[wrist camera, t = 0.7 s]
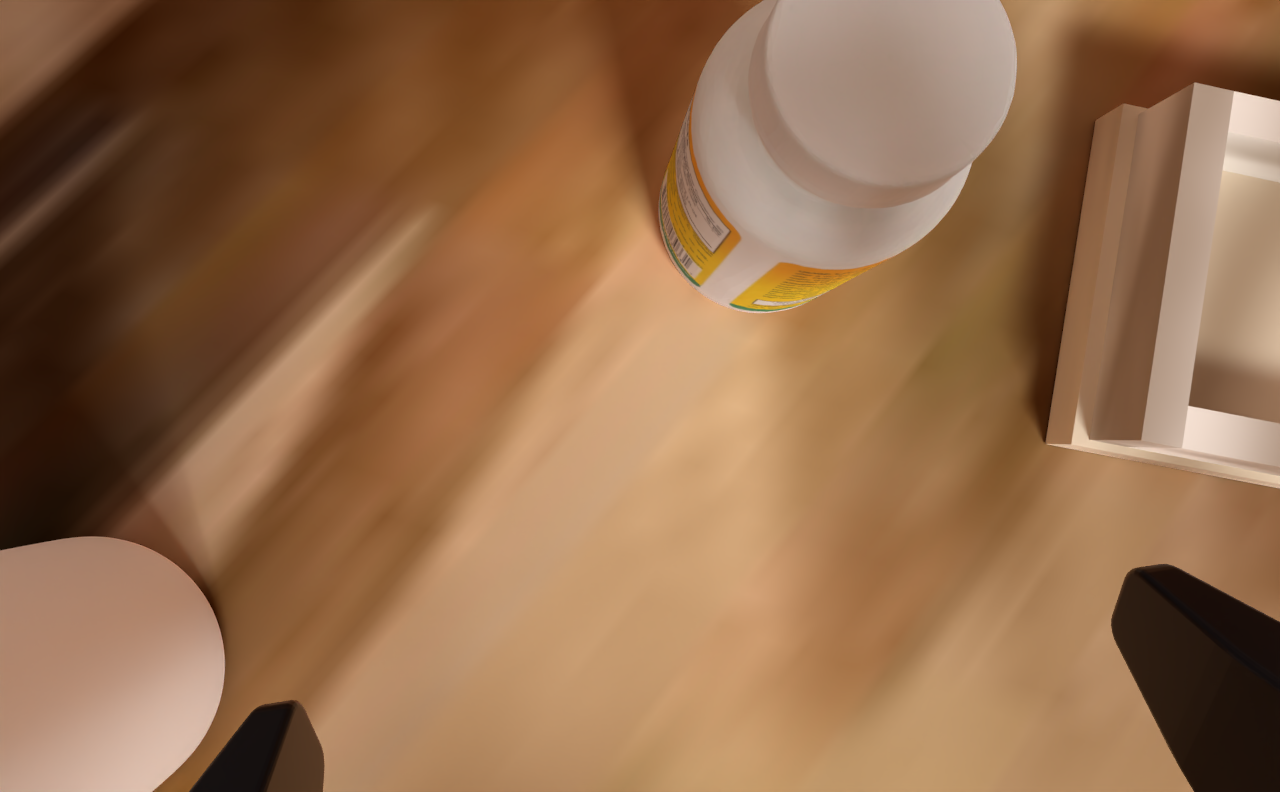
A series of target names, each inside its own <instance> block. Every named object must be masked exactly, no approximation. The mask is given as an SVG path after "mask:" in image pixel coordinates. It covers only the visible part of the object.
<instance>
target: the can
mask: <svg viewBox="0 0 1280 792" xmlns="http://www.w3.org/2000/svg"><path fill="white" fill-rule="evenodd" d="M224 675H225V656H224V646H223V640H222V636H221V632H220V628H219V625H218V622H217V619H216V617H215V614H214V612H213V610H212V608H211V606H210V604H209V602H208V601H207V599H206V597H205V596H204V594H203V593H202V591H201V590H200V589H199V587H198V586H197V585H196V583H195V582H194V581H193V580H192V579H191V578H190V577H189V576H188V575H187V574H186V573H185V572H184V571H183V570H182V569H181V568H179V567H178V566H177V565H176V564H174V563H173V562H172V561H170V560H169V559H167V558H166V557H164V556H163V555H161V554H159V553H157V552H155V551H153V550H151V549H149V548H147V547H144V546H142V545H139V544H136V543H133V542H130V541H126V540H121V539H116V538H110V537H95V536H89V537H74V538H66V539H59V540H53V541H48V542H42V543H37V544H32V545H26V546H21V547H16V548H11V549H5V550H0V792H152V791H153V790H154V789H156V788H157V787H158V786H159V785H160V784H161V783H163V782H164V781H165V780H166V779H167V778H168V777H169V776H170V775H172V774H173V773H174V772H175V771H176V770H177V769H178V768H179V767H180V766H181V765H182V764H183V763H184V762H185V761H186V760H187V759H188V758H189V756H190V755H191V754H192V753H193V752H194V750H195V749H196V748H197V747H198V745H199V744H200V742H201V741H202V739H203V738H204V736H205V735H206V733H207V731H208V729H209V727H210V725H211V723H212V721H213V719H214V717H215V714H216V711H217V709H218V706H219V702H220V699H221V695H222V690H223V684H224Z"/></svg>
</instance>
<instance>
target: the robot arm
mask: <svg viewBox="0 0 1280 792" xmlns="http://www.w3.org/2000/svg"><path fill="white" fill-rule="evenodd" d="M1111 627H1112V633H1113V636H1114V639H1115V642H1116V644H1117V646H1118V648H1119V650H1120V652H1121V654H1122V656H1123V658H1124V660H1125V662H1126V664H1127V666H1128V668H1129V670H1130V672H1131V674H1132V676H1133V677H1134V679H1135V681H1136V683H1137V685H1138V687H1139V689H1140V691H1141V693H1142V695H1143V697H1144V699H1145V701H1146V703H1147V705H1148V707H1149V709H1150V711H1151V713H1152V715H1153V717H1154V719H1155V721H1156V723H1157V725H1158V727H1159V729H1160V731H1161V733H1162V735H1163V737H1164V739H1165V741H1166V743H1167V745H1168V747H1169V749H1170V751H1171V752H1172V754H1173V756H1174V758H1175V760H1176V762H1177V763H1178V765H1179V767H1180V769H1181V771H1182V772H1183V774H1184V776H1185V777H1186V779H1187V781H1188V782H1189V784H1190V786H1191V787H1192V789H1193V791H1194V792H1280V622H1279V621H1277V620H1275V619H1273V618H1271V617H1269V616H1268V615H1266V614H1264V613H1262V612H1260V611H1258V610H1256V609H1254V608H1253V607H1251V606H1249V605H1247V604H1245V603H1243V602H1241V601H1239V600H1237V599H1236V598H1234V597H1232V596H1230V595H1228V594H1226V593H1224V592H1222V591H1221V590H1219V589H1217V588H1215V587H1213V586H1211V585H1209V584H1207V583H1205V582H1204V581H1202V580H1200V579H1198V578H1196V577H1194V576H1192V575H1190V574H1189V573H1187V572H1185V571H1183V570H1181V569H1179V568H1177V567H1175V566H1172V565H1168V564H1158V565H1151V566H1145V567H1139V568H1134V569H1132V570H1131V571H1130V572H1128V573H1127V575H1126V577H1125V579H1124V582H1123V585H1122V588H1121V591H1120V594H1119V597H1118V600H1117V603H1116V606H1115V609H1114V612H1113V615H1112V619H1111ZM323 782H324V755H323V750H322V747H321V744H320V742H319V740H318V737H317V735H316V733H315V731H314V729H313V727H312V724H311V722H310V720H309V718H308V716H307V713H306V711H305V709H304V707H303V706H302V704H301V703H299V702H298V701H296V700H290V701H283V702H277V703H271V704H265V705H261V706H259V707H257V708H256V709H255V710H253V711H252V712H251V714H250V715H249V716H248V717H247V718H246V720H245V721H244V722H243V724H242V725H241V726H240V727H239V729H238V730H237V731H236V732H235V734H234V735H233V736H232V738H231V739H230V740H229V741H228V743H227V744H226V745H225V747H224V748H223V749H222V750H221V752H220V753H219V754H218V755H217V757H216V758H215V759H214V761H213V762H212V763H211V764H210V766H209V767H208V768H207V769H206V771H205V772H204V773H203V775H202V776H201V777H200V778H199V780H198V781H197V782H196V784H195V785H194V786H193V787H192V789H191V790H190V791H189V792H323Z"/></svg>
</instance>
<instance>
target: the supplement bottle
mask: <svg viewBox="0 0 1280 792" xmlns="http://www.w3.org/2000/svg"><path fill="white" fill-rule="evenodd" d="M1016 71H1017V53H1016V45H1015V39H1014V36H1013V32H1012V28H1011V25H1010V22H1009V19H1008V16H1007V14H1006V12H1005V10H1004V8H1003V6H1002V4H1001V2H1000V0H763V1H762V2H760V3H759V4H757V5H755V6H754V7H753V8H751V9H750V10H749V11H747V12H746V13H745V14H744V15H742V16H741V17H740V18H739V19H738V20H737V21H736V22H735V23H734V24H733V25H732V26H731V27H730V28H729V29H728V30H727V32H726V33H725V34H724V35H723V36H722V38H721V39H720V40H719V42H718V43H717V44H716V46H715V48H714V49H713V51H712V53H711V55H710V56H709V58H708V60H707V62H706V64H705V66H704V68H703V71H702V73H701V76H700V78H699V81H698V83H697V86H696V89H695V91H694V94H693V97H692V99H691V102H690V105H689V108H688V111H687V113H686V116H685V119H684V122H683V125H682V127H681V130H680V133H679V136H678V138H677V141H676V144H675V147H674V149H673V152H672V155H671V158H670V161H669V163H668V166H667V169H666V172H665V175H664V178H663V182H662V186H661V190H660V197H659V223H660V230H661V234H662V238H663V241H664V244H665V248H666V250H667V252H668V254H669V256H670V258H671V260H672V262H673V264H674V265H675V267H676V268H677V270H678V271H679V273H680V274H681V275H682V276H683V277H684V279H685V280H686V281H687V282H688V283H689V284H690V285H691V286H692V287H694V288H695V289H696V290H697V291H698V292H700V293H701V294H702V295H704V296H705V297H707V298H708V299H710V300H712V301H714V302H716V303H718V304H719V305H722V306H725V307H728V308H731V309H734V310H737V311H742V312H749V313H770V312H778V311H783V310H788V309H791V308H794V307H798V306H800V305H803V304H805V303H807V302H809V301H811V300H813V299H815V298H817V297H818V296H820V295H822V294H824V293H826V292H828V291H830V290H832V289H834V288H835V287H837V286H839V285H841V284H843V283H844V282H846V281H848V280H850V279H852V278H854V277H856V276H858V275H860V274H861V273H863V272H865V271H867V270H869V269H871V268H873V267H875V266H877V265H879V264H880V263H882V262H884V261H886V260H888V259H890V258H892V257H894V256H895V255H897V254H899V253H900V252H902V251H904V250H906V249H907V248H909V247H911V246H912V245H913V244H915V243H916V242H918V241H919V240H920V239H922V238H923V237H924V236H925V235H926V234H928V233H929V232H930V231H931V230H932V229H933V228H934V227H935V226H936V225H937V224H938V223H939V222H940V221H941V219H942V218H943V217H944V216H945V215H946V214H947V213H948V211H949V210H950V208H951V207H952V205H953V204H954V202H955V201H956V199H957V197H958V195H959V193H960V191H961V190H962V188H963V186H964V184H965V181H966V179H967V176H968V174H969V171H970V168H971V165H972V162H973V161H974V160H975V159H976V158H977V157H978V156H979V155H980V154H981V153H982V152H983V150H984V149H985V148H986V147H987V146H988V145H989V144H990V142H991V141H992V140H993V138H994V137H995V135H996V134H997V132H998V131H999V129H1000V127H1001V126H1002V124H1003V122H1004V120H1005V118H1006V116H1007V113H1008V110H1009V107H1010V104H1011V101H1012V99H1013V96H1014V89H1015V81H1016Z"/></svg>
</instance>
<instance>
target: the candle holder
mask: <svg viewBox="0 0 1280 792" xmlns="http://www.w3.org/2000/svg"><path fill="white" fill-rule="evenodd" d="M1045 444H1048V445H1054V446H1059V447H1064V448H1070V449H1075V450H1080V451H1085V452H1091V453H1096V454H1101V455H1106V456H1112V457H1117V458H1122V459H1128V460H1133V461H1138V462H1143V463H1149V464H1154V465H1159V466H1164V467H1170V468H1175V469H1180V470H1186V471H1191V472H1196V473H1201V474H1207V475H1212V476H1217V477H1223V478H1228V479H1233V480H1238V481H1244V482H1249V483H1254V484H1259V485H1265V486H1270V487H1275V488H1280V101H1277V100H1272V99H1268V98H1263V97H1259V96H1254V95H1250V94H1245V93H1240V92H1236V91H1231V90H1227V89H1222V88H1218V87H1213V86H1209V85H1204V84H1200V83H1195V82H1194V83H1192V84H1191V85H1189V86H1187V87H1185V88H1184V89H1182V90H1180V91H1178V92H1177V93H1175V94H1173V95H1172V96H1170V97H1168V98H1166V99H1165V100H1163V101H1161V102H1159V103H1158V104H1156V105H1154V106H1152V107H1151V108H1149V109H1148V108H1143V107H1139V106H1134V105H1129V104H1125V103H1123V104H1122V105H1120V106H1118V107H1117V108H1115V109H1113V110H1112V111H1110V112H1108V113H1107V114H1105V115H1103V116H1102V117H1100V118H1099V119H1097V120H1096V121H1095V127H1094V134H1093V140H1092V147H1091V153H1090V160H1089V166H1088V172H1087V179H1086V185H1085V192H1084V198H1083V205H1082V211H1081V218H1080V224H1079V230H1078V237H1077V243H1076V250H1075V256H1074V263H1073V269H1072V276H1071V282H1070V289H1069V295H1068V301H1067V308H1066V314H1065V321H1064V327H1063V334H1062V340H1061V347H1060V353H1059V359H1058V366H1057V372H1056V379H1055V385H1054V392H1053V398H1052V405H1051V411H1050V417H1049V424H1048V430H1047V437H1046V443H1045Z"/></svg>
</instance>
